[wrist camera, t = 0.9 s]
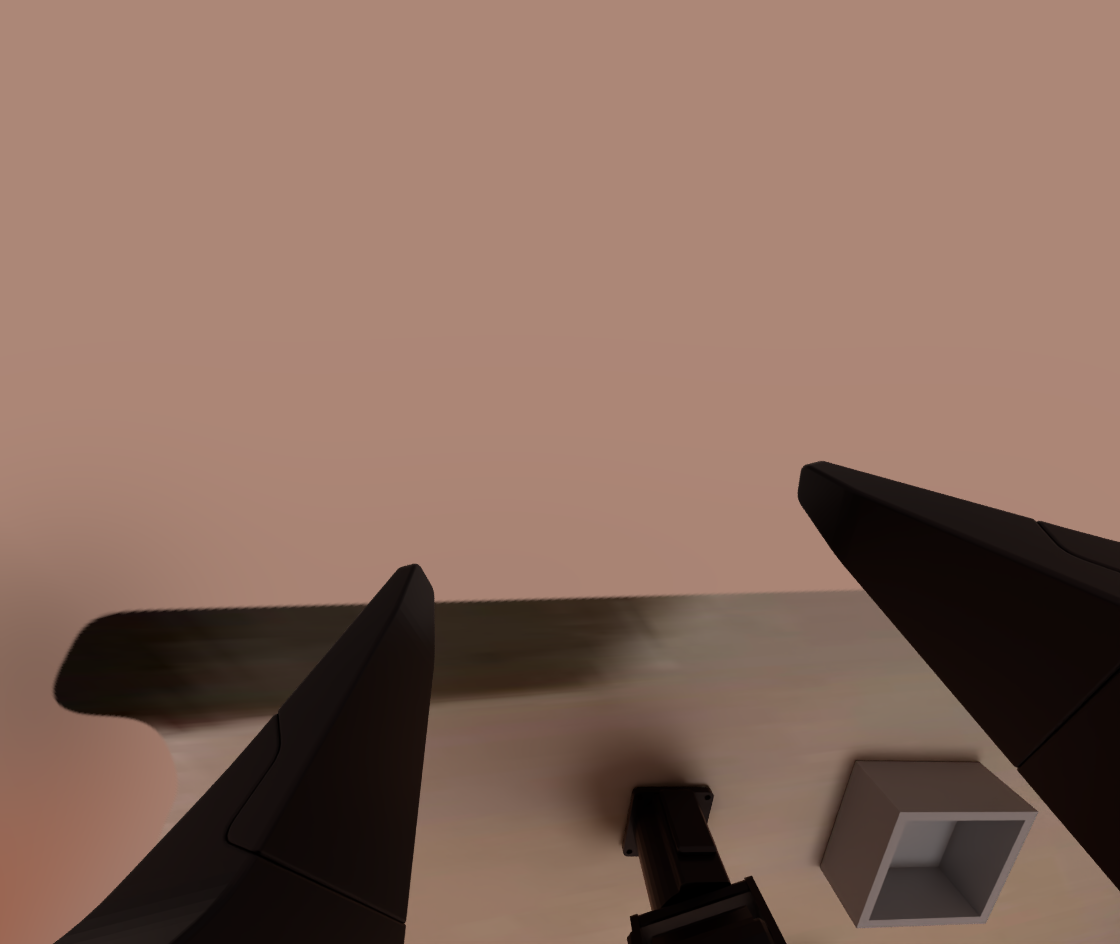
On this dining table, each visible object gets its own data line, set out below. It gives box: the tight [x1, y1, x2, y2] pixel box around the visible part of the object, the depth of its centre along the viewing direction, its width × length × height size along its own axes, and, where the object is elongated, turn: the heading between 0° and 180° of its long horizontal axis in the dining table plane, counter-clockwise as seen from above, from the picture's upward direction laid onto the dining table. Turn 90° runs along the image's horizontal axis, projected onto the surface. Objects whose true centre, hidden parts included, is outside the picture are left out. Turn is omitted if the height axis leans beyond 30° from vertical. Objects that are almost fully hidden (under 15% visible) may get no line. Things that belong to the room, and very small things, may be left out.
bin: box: [820, 761, 1038, 928], centre depth 33 cm, size 12×12×4 cm
